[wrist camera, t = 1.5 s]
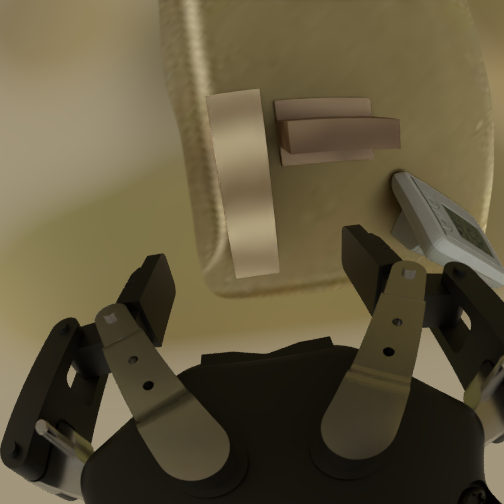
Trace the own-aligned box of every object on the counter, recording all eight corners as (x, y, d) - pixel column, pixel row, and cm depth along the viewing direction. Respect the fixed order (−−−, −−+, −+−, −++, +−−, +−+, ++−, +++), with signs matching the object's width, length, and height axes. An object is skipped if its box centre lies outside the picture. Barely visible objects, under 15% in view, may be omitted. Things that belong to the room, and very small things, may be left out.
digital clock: (472, 220, 28) (524, 258, 18) (437, 271, 31) (481, 319, 22) (407, 144, 23) (478, 168, 14) (362, 212, 27) (417, 264, 17)
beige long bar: (210, 99, 21) (205, 96, 18) (255, 93, 21) (259, 88, 18) (236, 257, 29) (236, 278, 25) (274, 252, 29) (279, 272, 25)
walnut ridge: (273, 101, 21) (284, 96, 16) (366, 98, 21) (397, 97, 16) (281, 164, 24) (293, 178, 19) (370, 157, 24) (400, 170, 19)
